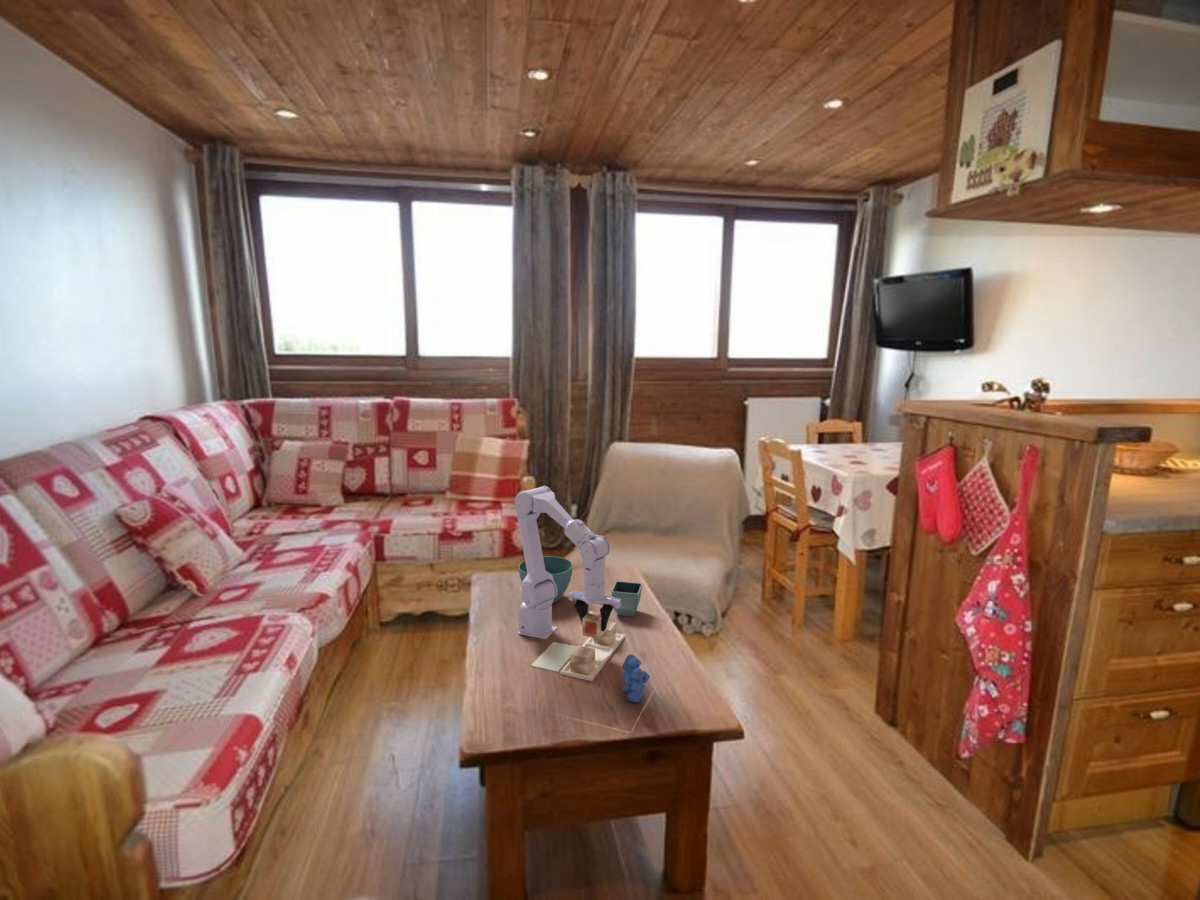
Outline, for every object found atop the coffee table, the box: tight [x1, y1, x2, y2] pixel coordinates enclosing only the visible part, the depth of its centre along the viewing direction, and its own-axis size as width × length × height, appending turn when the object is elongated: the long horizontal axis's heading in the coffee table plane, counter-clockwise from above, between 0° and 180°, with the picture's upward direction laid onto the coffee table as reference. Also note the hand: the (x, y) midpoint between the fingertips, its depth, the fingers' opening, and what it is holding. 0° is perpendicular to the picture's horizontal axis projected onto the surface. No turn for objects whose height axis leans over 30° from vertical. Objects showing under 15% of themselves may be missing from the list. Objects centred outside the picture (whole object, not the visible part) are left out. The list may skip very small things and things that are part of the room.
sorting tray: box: [559, 632, 626, 682], centre depth 166 cm, size 9×25×1 cm, turn 158°
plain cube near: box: [569, 645, 595, 676], centre depth 158 cm, size 5×5×5 cm
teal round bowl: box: [518, 555, 574, 604], centre depth 202 cm, size 18×18×12 cm
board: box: [530, 641, 578, 673], centre depth 165 cm, size 8×14×1 cm, turn 158°
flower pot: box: [611, 580, 643, 617], centre depth 192 cm, size 9×9×9 cm
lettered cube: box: [582, 610, 606, 639], centre depth 164 cm, size 5×5×5 cm
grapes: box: [621, 653, 651, 703], centre depth 144 cm, size 12×7×12 cm, turn 14°
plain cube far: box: [594, 621, 617, 647], centre depth 173 cm, size 5×5×5 cm
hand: (594, 627), depth 165 cm, fingers closed on lettered cube, 5 cm apart
